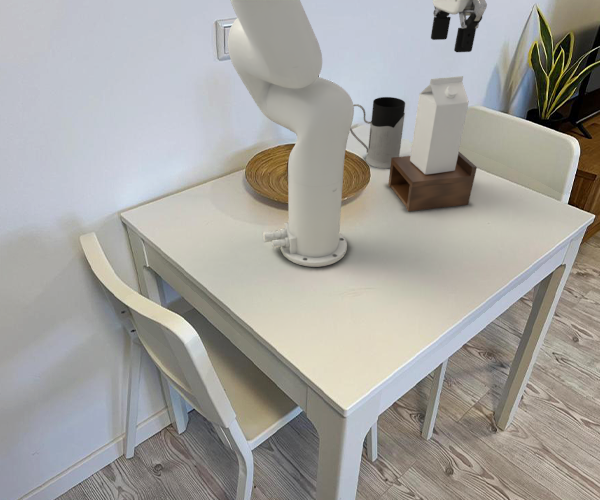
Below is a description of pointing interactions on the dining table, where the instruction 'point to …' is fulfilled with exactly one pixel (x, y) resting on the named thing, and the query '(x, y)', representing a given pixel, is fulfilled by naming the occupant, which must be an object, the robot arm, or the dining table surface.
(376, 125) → the glass holder
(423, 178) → the brown wooden box
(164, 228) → the dining table surface
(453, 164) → the milk carton
